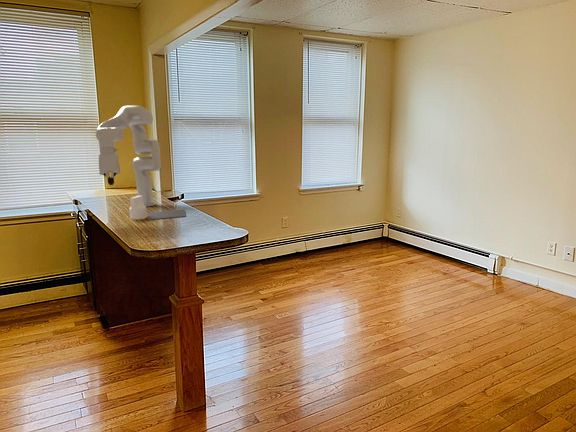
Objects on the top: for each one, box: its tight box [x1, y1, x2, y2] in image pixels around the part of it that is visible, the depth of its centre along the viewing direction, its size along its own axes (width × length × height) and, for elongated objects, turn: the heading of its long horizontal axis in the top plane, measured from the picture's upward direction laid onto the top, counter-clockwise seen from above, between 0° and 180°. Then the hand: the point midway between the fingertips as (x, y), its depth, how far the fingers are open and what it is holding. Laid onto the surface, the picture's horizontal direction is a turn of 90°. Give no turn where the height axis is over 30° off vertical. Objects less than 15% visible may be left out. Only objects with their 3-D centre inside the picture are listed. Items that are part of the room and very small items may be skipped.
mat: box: [147, 209, 186, 221], centre depth 247 cm, size 20×20×1 cm
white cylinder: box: [128, 195, 148, 220], centre depth 242 cm, size 9×9×12 cm
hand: (111, 184), depth 235 cm, fingers closed
